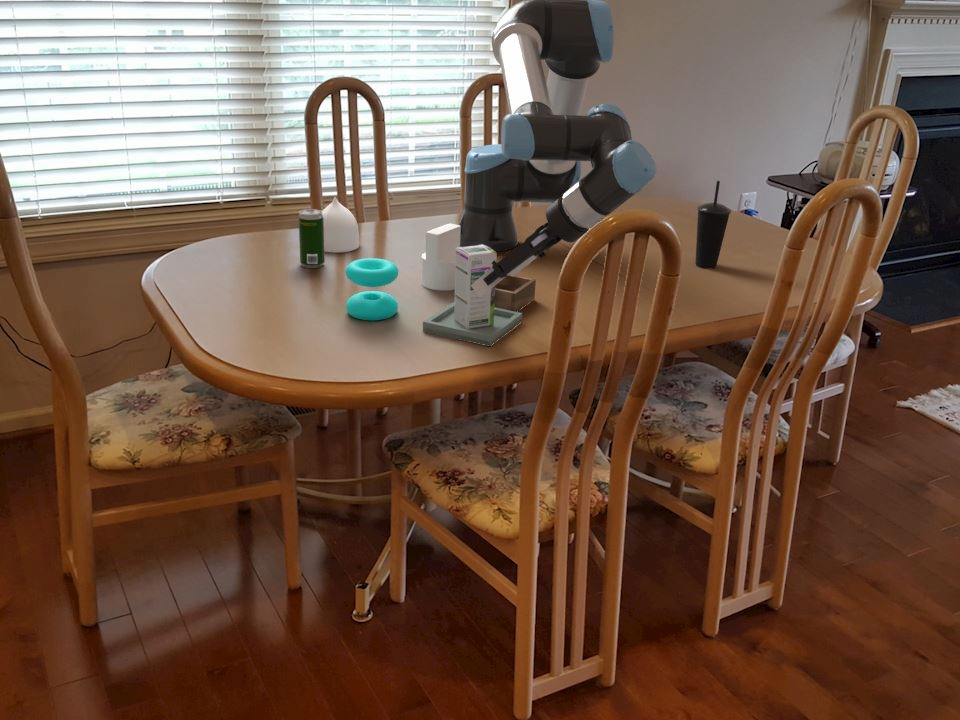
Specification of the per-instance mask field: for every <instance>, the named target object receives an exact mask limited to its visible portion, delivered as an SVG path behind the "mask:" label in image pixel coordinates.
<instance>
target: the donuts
mask: <svg viewBox="0 0 960 720" xmlns="http://www.w3.org/2000/svg"><path fill="white" fill-rule="evenodd" d="M345 275H346V277H347V279H348V280H349V281H350V282H351V283H353V284H355V285H357V286H361V287H365V288H366V287H367V288H380V287H383V286H387V285H390V284H392V283H393V282H394V281H396V279H397V277H398V276H399V269H398V266H397V265H396V264H395V263H393V262H392V261H390V260H387V259H383V258H376V257H374V258H373V257H368V258H367V257H366V258H361V259H360V258H358V259H356V260H353V261H351V262H350V263H349V264H348V265H347V266H346V269H345ZM345 306H346V307H345V308H346V311H347V313H348V314H349V315H350V316H351V317H352V318H356V319H358V320H362V321H372V322H373V321H382V320H386V319H389V318H392V317H393V316H394V315H395V314H396V313H397V312H398V309H399V303H398V302H397V300H396V298H395V297H393V296H392V295H391V294H389V293H386V292H382V291H379V290H378V291H377V290H367V291H361V292H357V293H355V294H353V295H352V296H350V297H349V298H348V299H347V302H346V304H345Z"/></svg>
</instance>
